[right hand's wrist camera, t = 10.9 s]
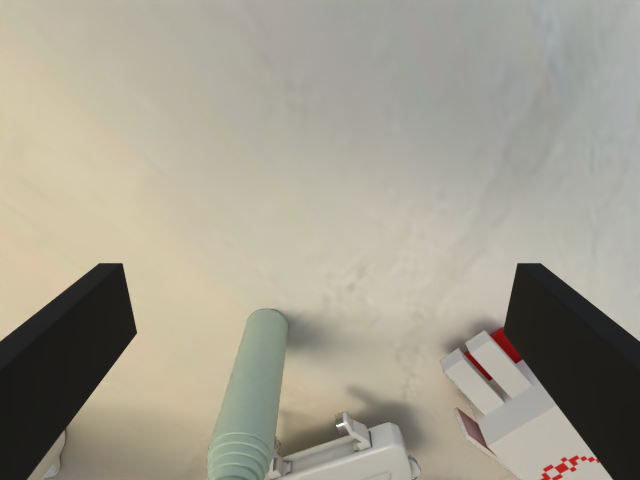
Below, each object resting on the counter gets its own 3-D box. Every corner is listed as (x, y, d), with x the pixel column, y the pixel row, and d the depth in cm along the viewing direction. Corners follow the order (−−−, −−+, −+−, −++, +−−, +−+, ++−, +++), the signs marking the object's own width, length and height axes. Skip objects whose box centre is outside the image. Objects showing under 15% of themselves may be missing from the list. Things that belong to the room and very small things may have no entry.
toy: (531, 348, 36) (701, 540, 40) (485, 291, 49) (619, 441, 53) (428, 415, 39) (597, 586, 43) (411, 344, 52) (542, 482, 56)
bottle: (288, 344, 47) (264, 553, 26) (247, 343, 47) (189, 553, 26) (288, 309, 46) (262, 504, 24) (245, 308, 46) (181, 503, 24)
